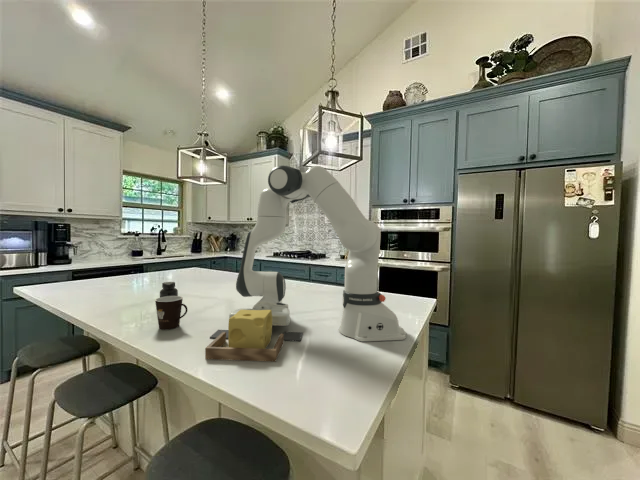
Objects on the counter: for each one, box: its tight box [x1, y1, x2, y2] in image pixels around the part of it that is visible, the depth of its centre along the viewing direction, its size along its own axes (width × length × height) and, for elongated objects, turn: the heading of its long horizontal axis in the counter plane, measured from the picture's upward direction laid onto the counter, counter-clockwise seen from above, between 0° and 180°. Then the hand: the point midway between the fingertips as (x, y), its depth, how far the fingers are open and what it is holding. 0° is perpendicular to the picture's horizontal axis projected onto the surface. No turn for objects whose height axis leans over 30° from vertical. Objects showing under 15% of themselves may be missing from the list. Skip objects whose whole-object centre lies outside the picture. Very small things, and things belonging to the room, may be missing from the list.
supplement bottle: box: [159, 281, 179, 298], centre depth 122 cm, size 7×7×12 cm
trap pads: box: [209, 329, 304, 342], centre depth 96 cm, size 29×7×1 cm, turn 88°
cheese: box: [227, 310, 273, 349], centre depth 87 cm, size 10×11×10 cm
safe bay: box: [204, 332, 284, 363], centre depth 84 cm, size 19×12×3 cm, turn 88°
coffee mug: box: [154, 295, 188, 331], centre depth 102 cm, size 12×9×10 cm
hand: (254, 324), depth 92 cm, fingers closed, pressing on cheese
